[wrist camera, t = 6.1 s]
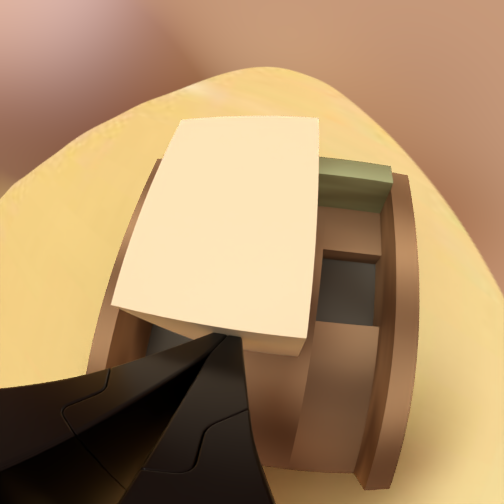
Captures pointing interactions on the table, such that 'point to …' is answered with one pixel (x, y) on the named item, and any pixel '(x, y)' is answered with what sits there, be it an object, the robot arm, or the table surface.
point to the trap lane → (323, 334)
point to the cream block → (229, 233)
